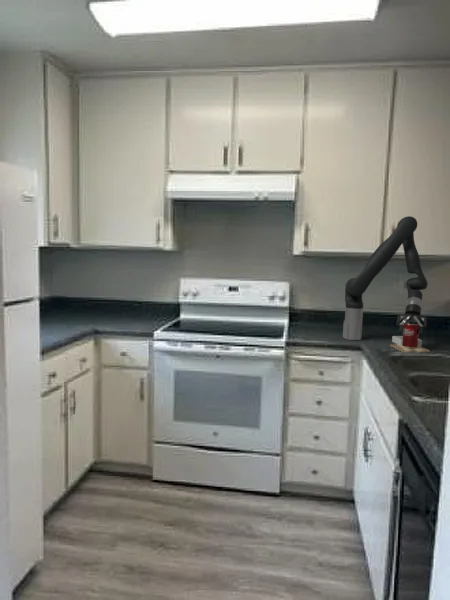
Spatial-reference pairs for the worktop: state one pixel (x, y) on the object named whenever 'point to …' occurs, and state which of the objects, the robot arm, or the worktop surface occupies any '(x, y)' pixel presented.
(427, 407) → the worktop surface
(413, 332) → the soda can
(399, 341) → the can collar
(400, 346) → the trivet
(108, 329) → the worktop surface
